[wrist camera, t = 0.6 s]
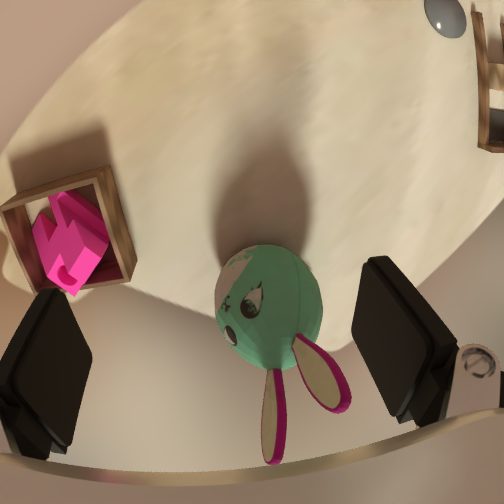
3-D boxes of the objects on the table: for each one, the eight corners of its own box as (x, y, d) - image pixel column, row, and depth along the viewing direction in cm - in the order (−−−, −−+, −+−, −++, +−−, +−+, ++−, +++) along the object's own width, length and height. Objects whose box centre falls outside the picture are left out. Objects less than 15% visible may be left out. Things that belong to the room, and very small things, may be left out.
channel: (470, 12, 32) (485, 11, 29) (503, 24, 33) (517, 25, 29) (477, 147, 45) (492, 152, 42) (507, 147, 46) (520, 153, 42)
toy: (239, 213, 46) (282, 382, 20) (330, 256, 52) (420, 403, 26) (197, 290, 52) (199, 464, 26) (284, 321, 57) (330, 472, 31)
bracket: (120, 224, 45) (101, 258, 36) (89, 269, 48) (69, 307, 39) (60, 177, 40) (28, 202, 31) (33, 227, 43) (4, 258, 34)
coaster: (420, -15, 31) (423, -16, 30) (459, -3, 31) (462, -4, 30) (428, 33, 35) (431, 33, 34) (466, 42, 36) (469, 42, 35)
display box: (16, 194, 39) (-3, 208, 34) (109, 165, 40) (96, 176, 35) (48, 276, 47) (35, 296, 42) (137, 260, 48) (130, 281, 43)
